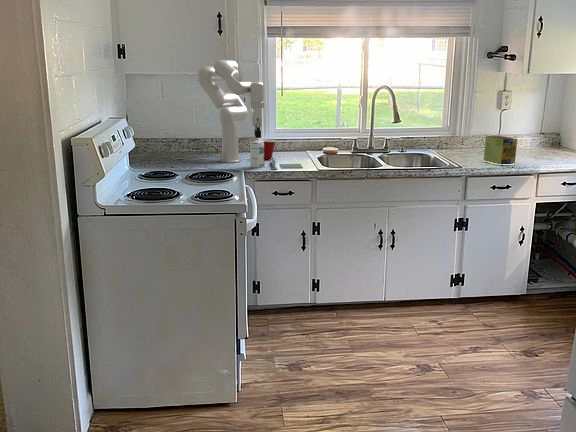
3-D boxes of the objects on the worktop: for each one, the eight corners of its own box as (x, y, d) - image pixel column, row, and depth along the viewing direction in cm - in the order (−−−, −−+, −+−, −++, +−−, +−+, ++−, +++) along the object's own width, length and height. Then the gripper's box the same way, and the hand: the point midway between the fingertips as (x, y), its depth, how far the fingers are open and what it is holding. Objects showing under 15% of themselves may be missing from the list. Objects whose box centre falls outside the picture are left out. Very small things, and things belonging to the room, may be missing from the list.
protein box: (500, 166, 343) (503, 139, 339) (482, 162, 357) (485, 136, 353) (515, 165, 347) (518, 138, 343) (497, 161, 361) (499, 135, 357)
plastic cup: (277, 160, 356) (277, 140, 353) (258, 160, 355) (258, 140, 352) (275, 157, 366) (275, 138, 363) (257, 157, 365) (257, 138, 362)
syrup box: (258, 168, 332) (258, 141, 328) (250, 166, 335) (249, 141, 331) (264, 166, 337) (264, 140, 333) (255, 165, 340) (255, 139, 336)
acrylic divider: (271, 169, 327) (271, 160, 326) (269, 163, 346) (269, 154, 345) (277, 169, 327) (277, 160, 326) (274, 163, 347) (274, 154, 345)
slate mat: (281, 168, 331) (281, 167, 331) (279, 164, 343) (279, 163, 343) (302, 168, 332) (302, 167, 332) (300, 164, 344) (300, 163, 344)
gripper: (249, 104, 335) (250, 135, 339) (250, 106, 318) (251, 138, 323) (263, 104, 336) (263, 135, 340) (265, 106, 319) (265, 138, 323)
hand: (257, 136), depth 331 cm, fingers open, 9 cm apart
